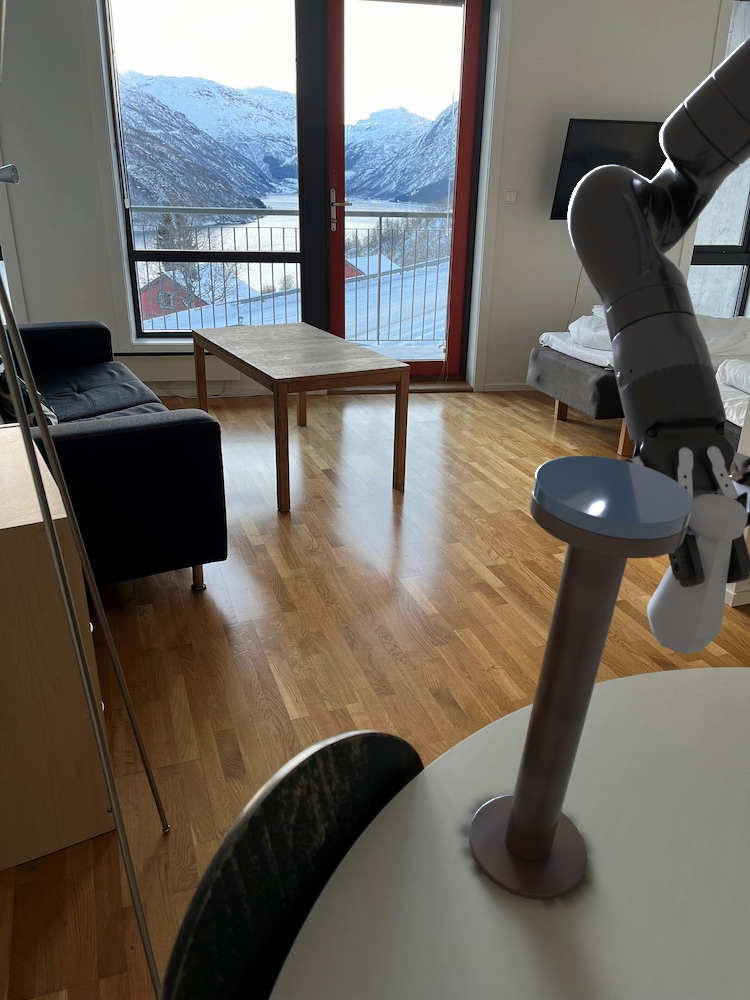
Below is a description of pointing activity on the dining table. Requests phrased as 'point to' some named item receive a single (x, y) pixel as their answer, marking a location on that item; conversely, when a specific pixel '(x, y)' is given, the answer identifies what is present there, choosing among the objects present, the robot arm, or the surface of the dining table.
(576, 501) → the blue round disc
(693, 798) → the dining table surface
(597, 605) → the stand
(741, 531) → the salt shaker
